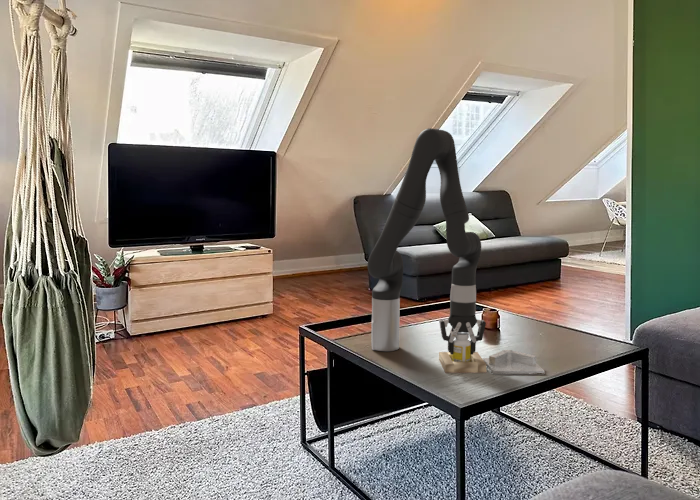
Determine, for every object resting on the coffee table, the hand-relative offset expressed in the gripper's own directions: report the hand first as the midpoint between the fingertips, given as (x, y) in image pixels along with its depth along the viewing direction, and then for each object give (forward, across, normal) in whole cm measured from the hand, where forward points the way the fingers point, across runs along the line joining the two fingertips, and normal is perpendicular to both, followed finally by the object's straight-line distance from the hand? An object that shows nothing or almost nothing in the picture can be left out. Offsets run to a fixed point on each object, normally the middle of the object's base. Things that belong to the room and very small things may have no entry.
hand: (461, 353), depth 171 cm
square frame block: (+4, 0, 0) cm, 4 cm away
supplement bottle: (+4, 0, 0) cm, 4 cm away
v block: (+4, +15, -2) cm, 16 cm away
